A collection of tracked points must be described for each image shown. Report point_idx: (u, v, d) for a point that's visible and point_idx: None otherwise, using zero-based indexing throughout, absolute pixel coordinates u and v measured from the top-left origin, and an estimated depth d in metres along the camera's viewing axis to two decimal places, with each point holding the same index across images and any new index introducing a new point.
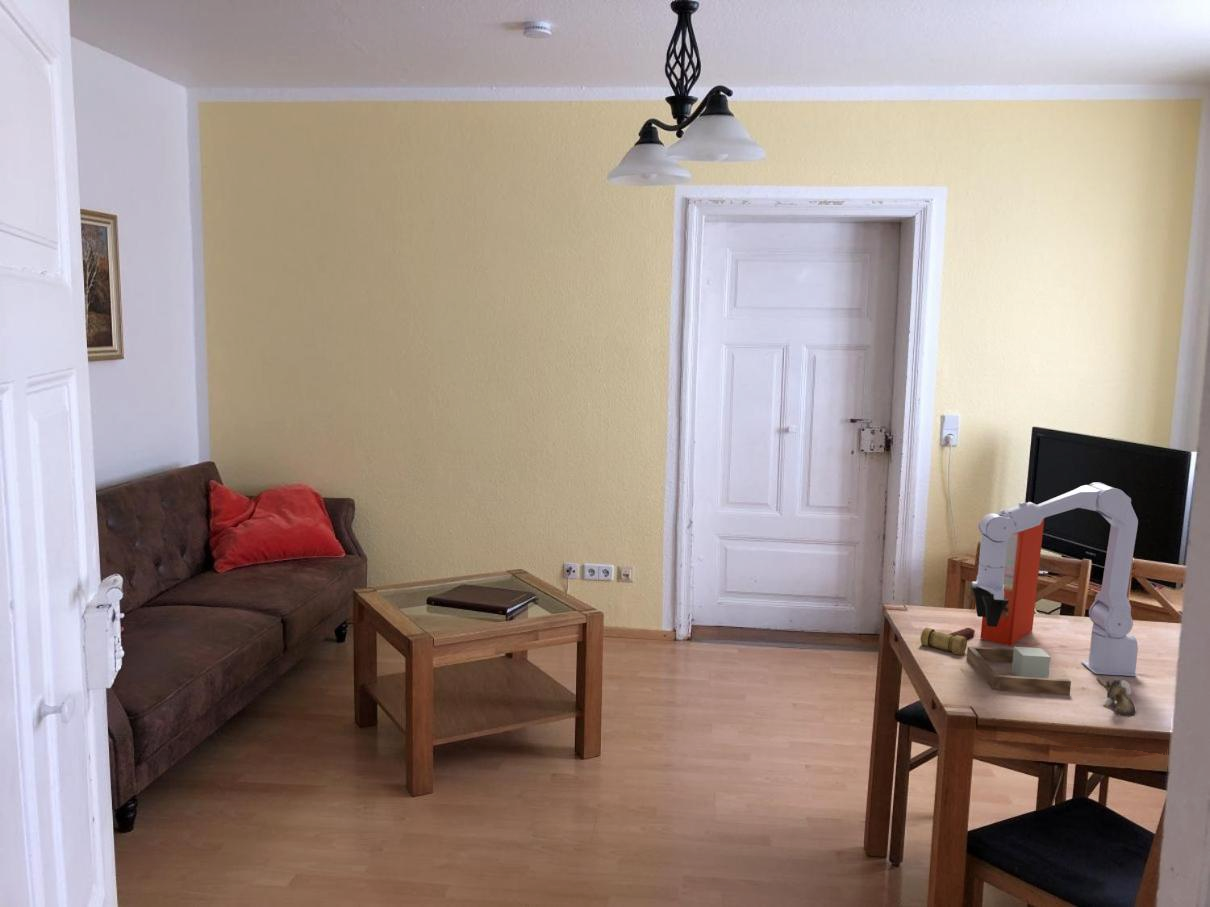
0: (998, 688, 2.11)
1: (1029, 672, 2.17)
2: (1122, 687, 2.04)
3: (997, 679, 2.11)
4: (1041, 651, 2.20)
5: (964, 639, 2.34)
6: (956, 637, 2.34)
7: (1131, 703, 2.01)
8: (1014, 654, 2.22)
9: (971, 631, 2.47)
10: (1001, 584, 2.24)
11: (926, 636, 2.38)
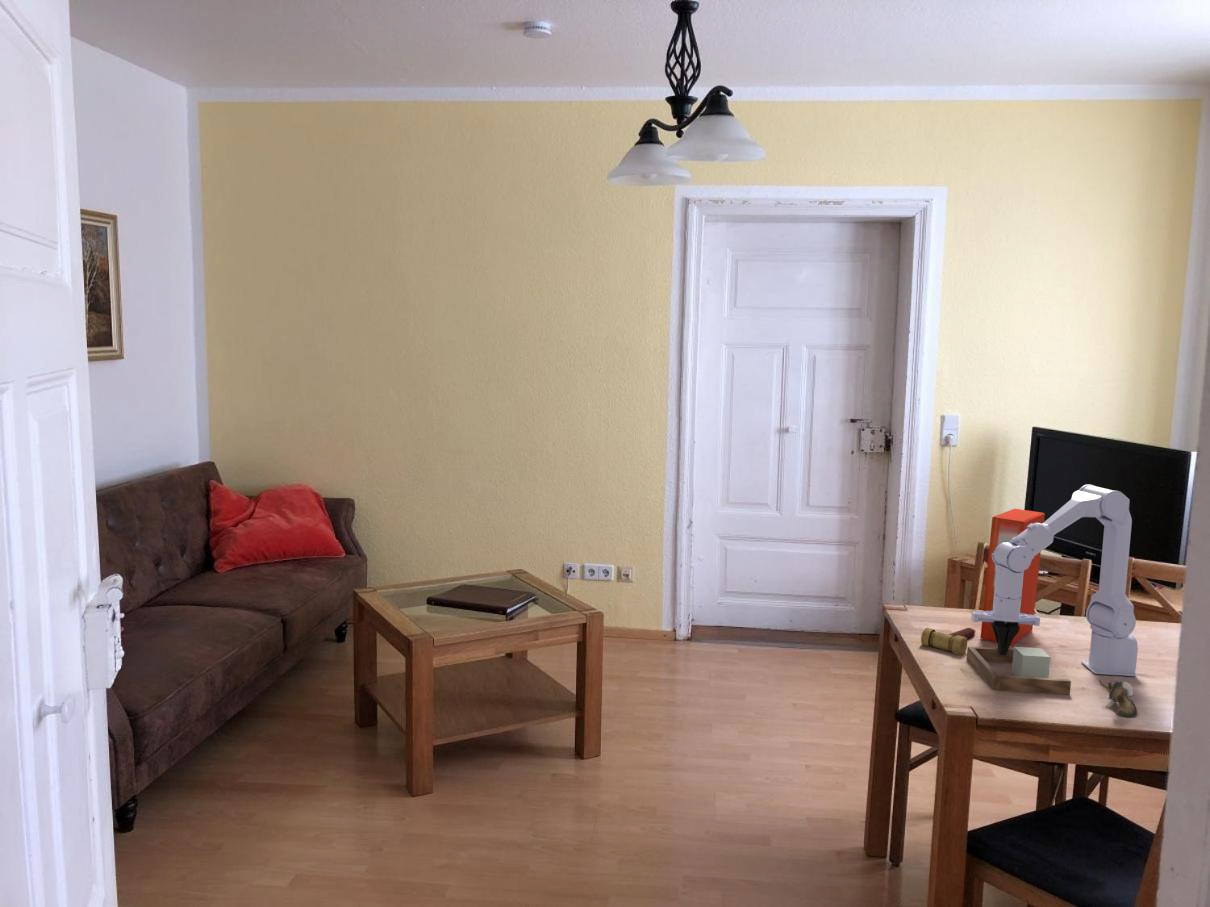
0: (998, 688, 2.11)
1: (1029, 672, 2.17)
2: (1124, 688, 2.03)
3: (997, 679, 2.11)
4: (1041, 651, 2.20)
5: (964, 639, 2.34)
6: (956, 637, 2.34)
7: (1133, 705, 2.00)
8: (1014, 654, 2.22)
9: (971, 631, 2.48)
10: (999, 614, 2.17)
11: (926, 636, 2.38)
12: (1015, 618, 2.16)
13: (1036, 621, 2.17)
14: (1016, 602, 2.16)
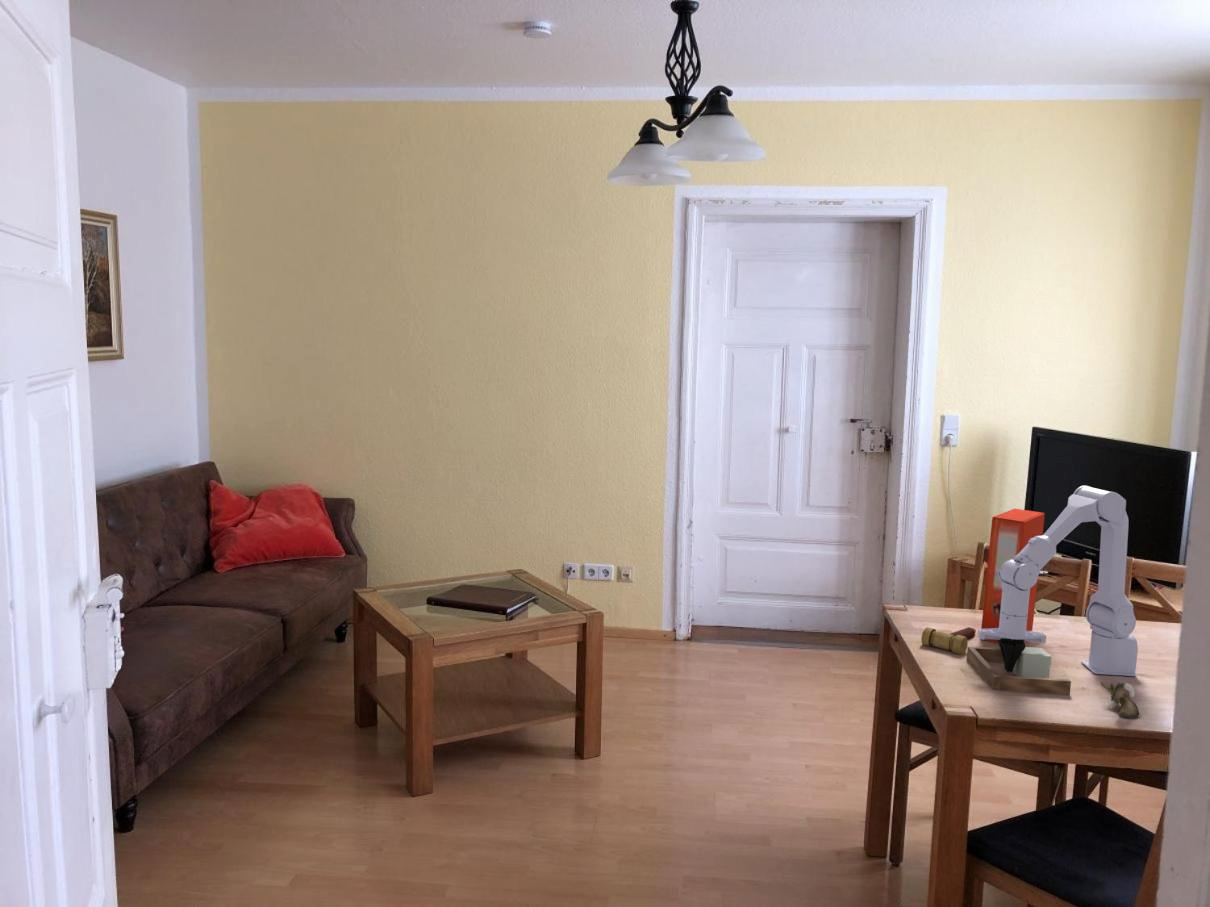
0: (998, 688, 2.11)
1: (1030, 672, 2.17)
2: (1126, 690, 2.03)
3: (997, 679, 2.11)
4: (1042, 651, 2.20)
5: (965, 639, 2.34)
6: (957, 637, 2.34)
7: (1135, 706, 2.00)
8: None
9: (972, 631, 2.48)
10: (1005, 632, 2.17)
11: (926, 636, 2.39)
12: (1021, 636, 2.16)
13: (1042, 638, 2.18)
14: (1022, 620, 2.16)
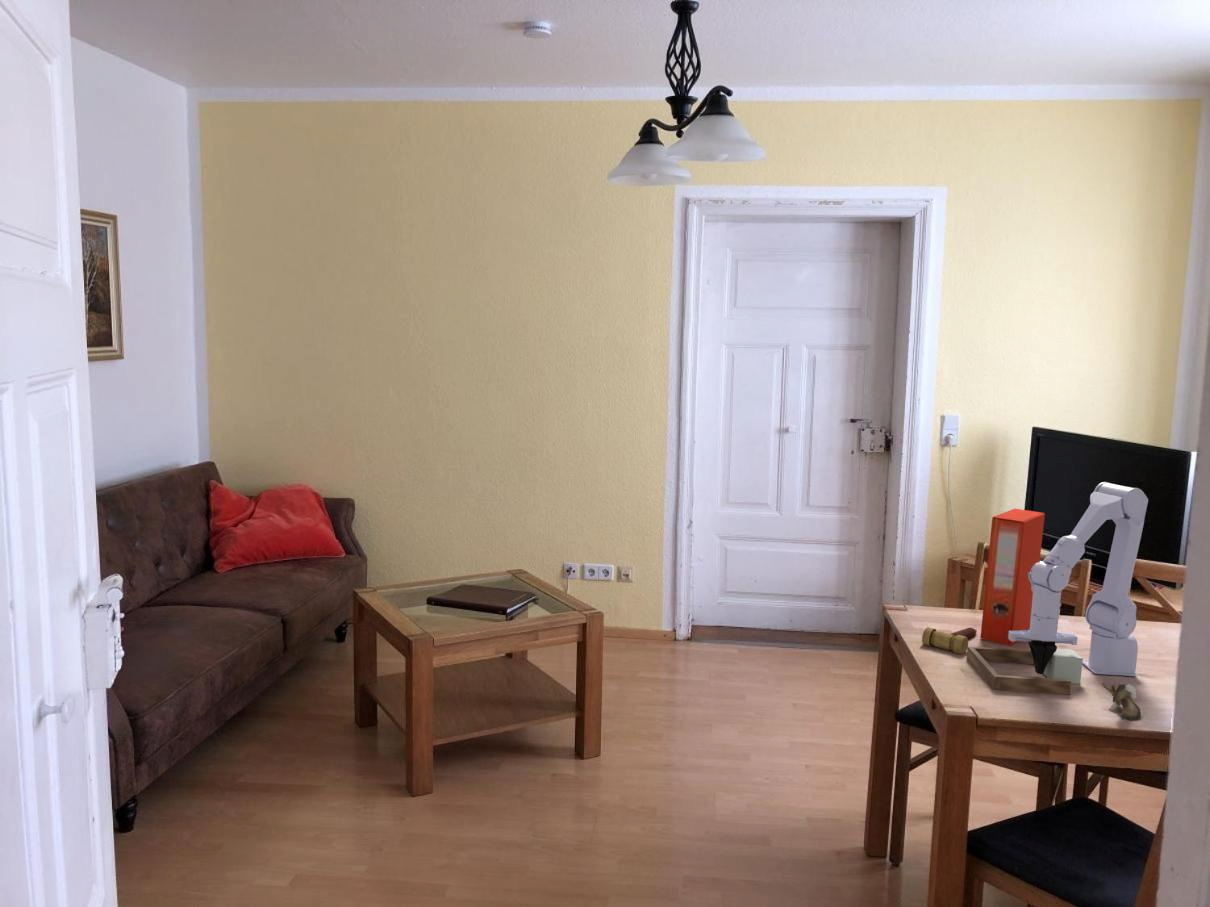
0: (998, 688, 2.11)
1: (1061, 674, 2.16)
2: (1127, 691, 2.02)
3: (997, 679, 2.11)
4: (1073, 652, 2.19)
5: (965, 639, 2.35)
6: (957, 637, 2.35)
7: (1137, 707, 1.99)
8: None
9: (973, 631, 2.48)
10: (1036, 634, 2.17)
11: (927, 636, 2.39)
12: (1053, 637, 2.16)
13: (1073, 640, 2.17)
14: (1054, 622, 2.16)
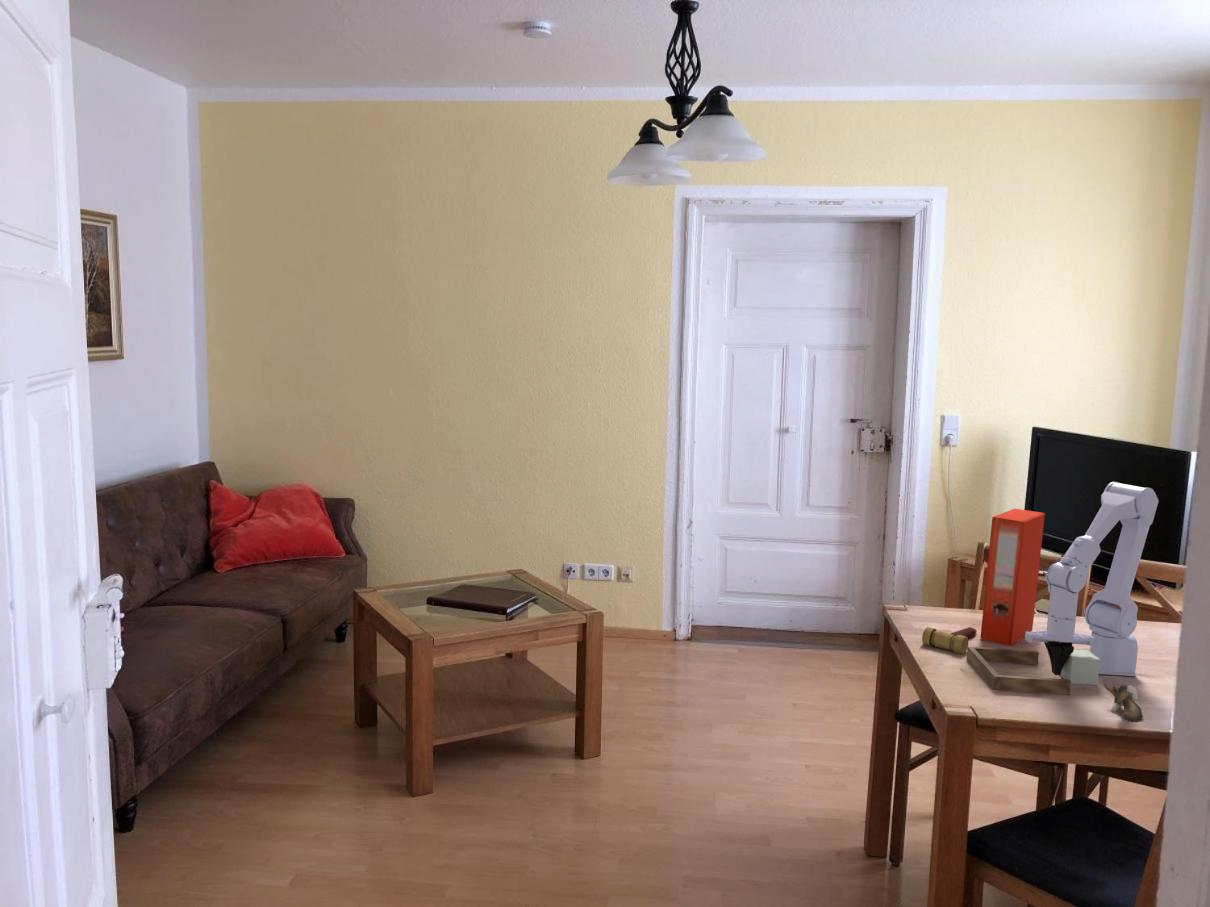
0: (998, 688, 2.11)
1: (1078, 675, 2.16)
2: (1129, 692, 2.01)
3: (997, 679, 2.11)
4: (1090, 653, 2.19)
5: (965, 638, 2.35)
6: (957, 637, 2.35)
7: (1138, 708, 1.98)
8: None
9: (973, 630, 2.48)
10: (1053, 635, 2.17)
11: (927, 636, 2.39)
12: (1070, 638, 2.16)
13: (1091, 641, 2.17)
14: (1071, 622, 2.15)
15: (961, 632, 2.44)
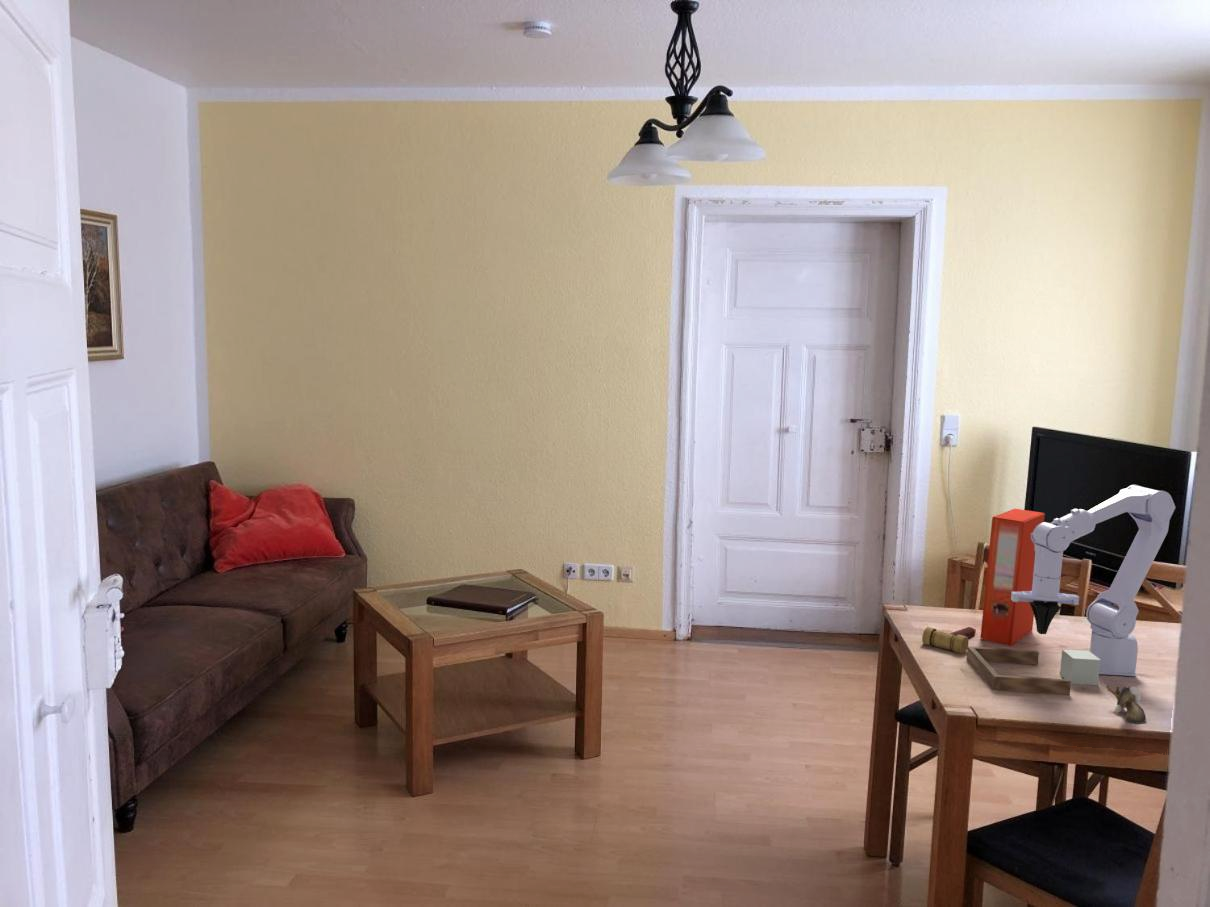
0: (998, 688, 2.11)
1: (1079, 675, 2.16)
2: (1132, 694, 2.00)
3: (997, 679, 2.11)
4: (1090, 654, 2.19)
5: (966, 638, 2.35)
6: (957, 637, 2.35)
7: (1141, 710, 1.97)
8: (1062, 657, 2.21)
9: (972, 630, 2.48)
10: (1039, 594, 2.19)
11: (927, 636, 2.39)
12: (1055, 597, 2.18)
13: (1075, 600, 2.20)
14: (1056, 581, 2.18)
15: (961, 632, 2.44)
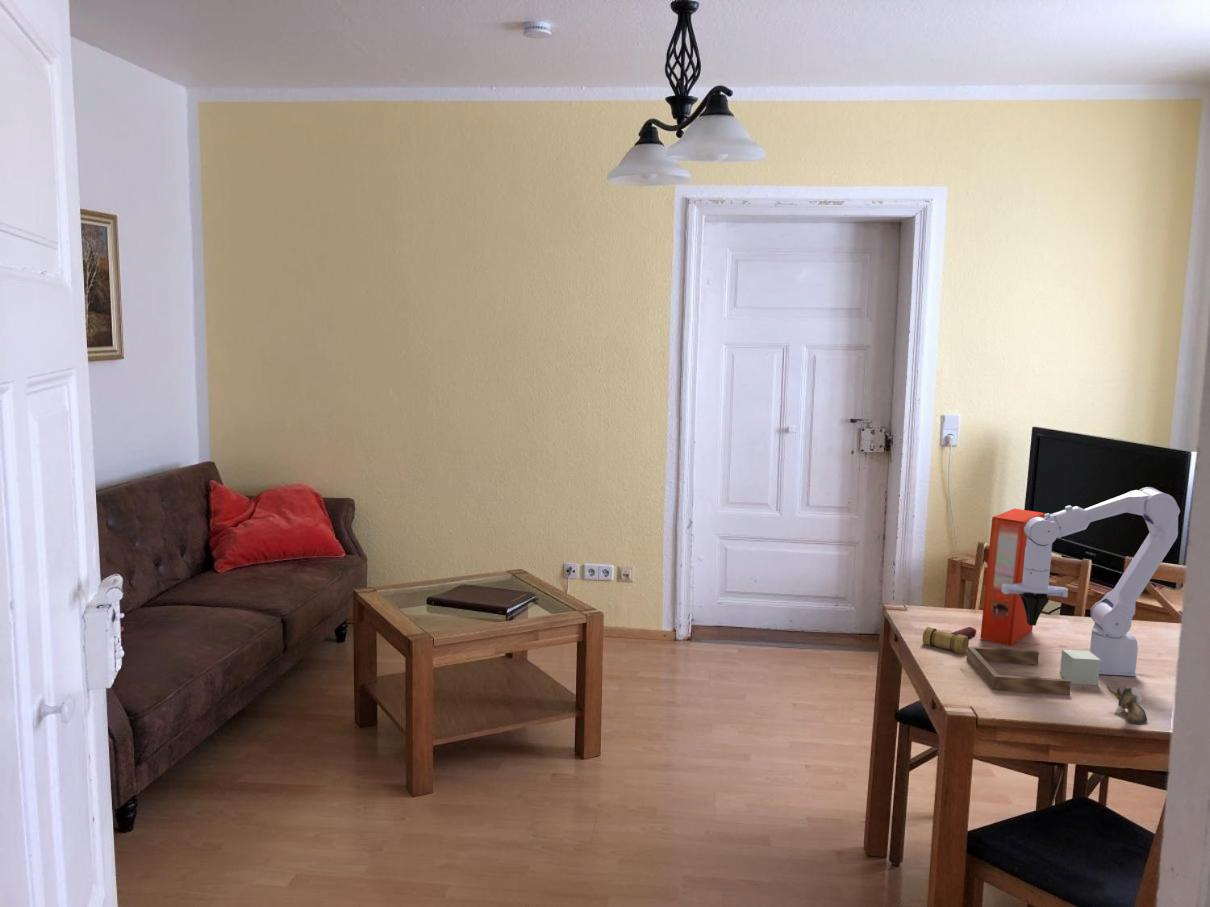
0: (998, 688, 2.11)
1: (1079, 675, 2.16)
2: (1133, 695, 2.00)
3: (997, 679, 2.11)
4: (1090, 654, 2.19)
5: (966, 638, 2.35)
6: (958, 636, 2.35)
7: (1142, 711, 1.97)
8: (1062, 657, 2.21)
9: (972, 630, 2.48)
10: (1028, 586, 2.26)
11: (928, 635, 2.39)
12: (1044, 590, 2.25)
13: (1064, 592, 2.26)
14: (1045, 574, 2.24)
15: (961, 632, 2.44)
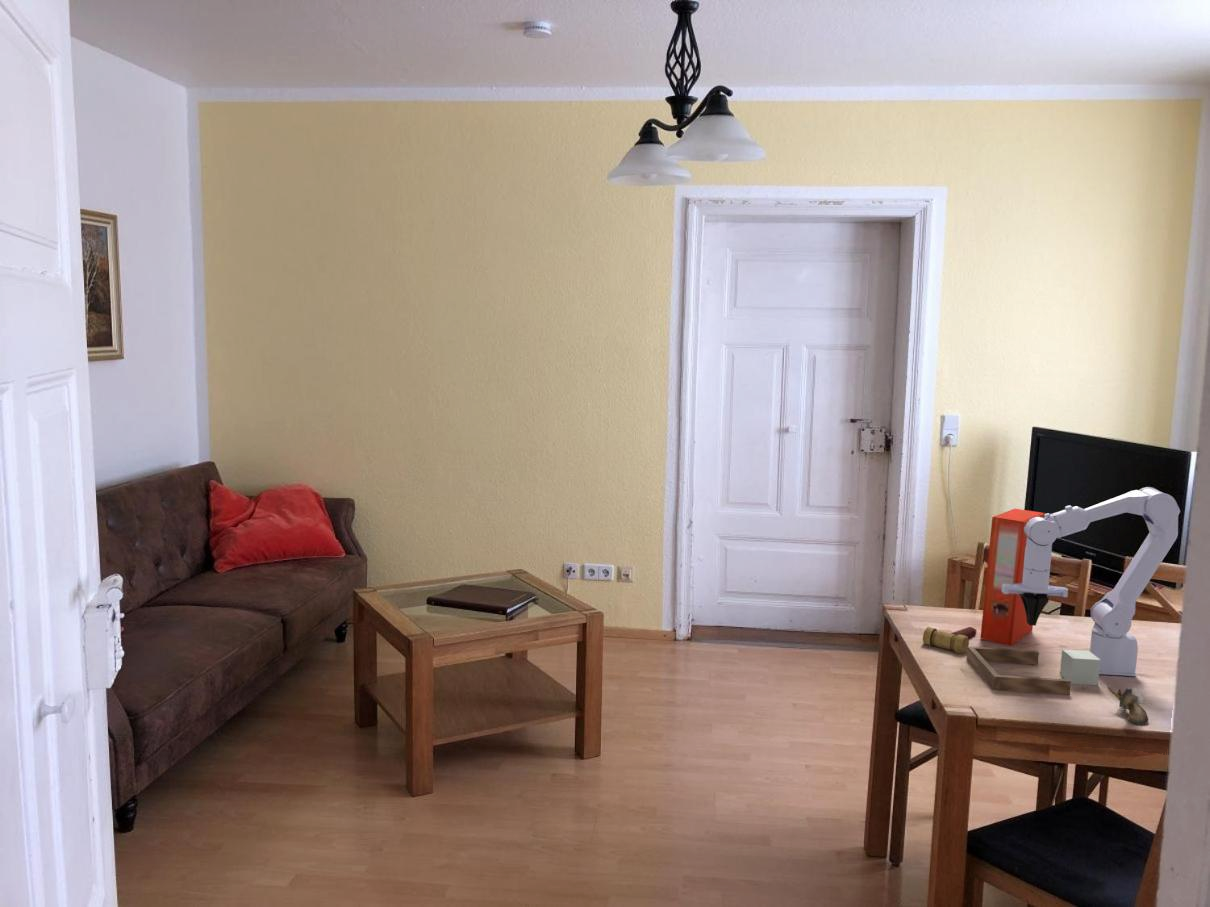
0: (998, 688, 2.11)
1: (1079, 675, 2.16)
2: (1134, 695, 2.00)
3: (997, 679, 2.11)
4: (1090, 654, 2.19)
5: (966, 638, 2.35)
6: (958, 636, 2.35)
7: (1144, 712, 1.97)
8: (1062, 657, 2.21)
9: (973, 630, 2.48)
10: (1028, 586, 2.26)
11: (928, 635, 2.39)
12: (1044, 590, 2.25)
13: (1064, 592, 2.26)
14: (1045, 574, 2.24)
15: (961, 632, 2.44)
